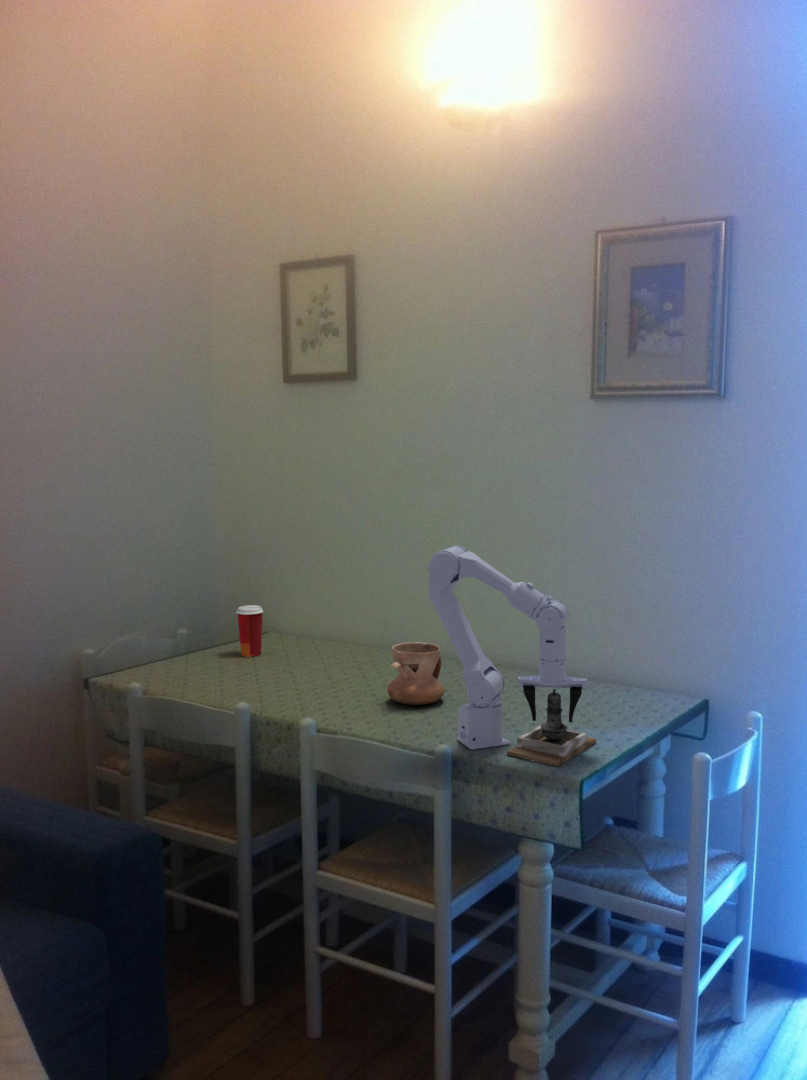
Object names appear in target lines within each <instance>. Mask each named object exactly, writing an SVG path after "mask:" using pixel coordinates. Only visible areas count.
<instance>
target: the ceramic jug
mask: <svg viewBox="0 0 807 1080" xmlns="http://www.w3.org/2000/svg"><path fill="white" fill-rule="evenodd" d="M441 648H442V647H440V646H439V645H438V644H435V643H431V642H423V641H417V642H416V641H409V642H402V643H397V644H394V645H393V646H392V647H391V653H392V658H393V661H394V662H393V663H392V664H390V668H391V669H392V670H397V671H398V673H399V675H398V676H397V677H395V678H394V679H393V680H391V681H389V683H388V686H387V690H386V691H387V693H388V696H389V698H391V700H393V701H395V702H397V703H399V704H403V705H408V706H423V705H425V706H426V705H429V704H433V703H435V702H437V701H439V700H440V699H441V698H442V697H443V696H444V693H445V687H444V685H443V683H442V682H441V681H439V680H438V679H439V677H440V674H441V670H442V661H443V660H442V657H441V651H442V650H441Z"/></svg>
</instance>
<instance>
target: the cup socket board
mask: <svg viewBox="0 0 807 1080" xmlns="http://www.w3.org/2000/svg"><path fill="white" fill-rule="evenodd" d="M541 725H542V724H540V725H538V726H536V727H535V728H533V729H531V730H529V731H528V732H526V733H524V734H522V735H520V736H518V737H517V738H516V741H517V742H516V744H517V745H516V746H513V747H512V748H510V749H507V751H506V756H507V755H510V756H509V757H511V756H516V757H520V758H525V759H528V760H527V761H529V760H534V761H538V762H542V763H541V764H543V763H546V764H545V765H548V764H551V765H550V766H552V765H555V766H554V767H557V766H558V767H560V766H561V764H562V765H563V764H564V762H565V761H566V762H568V761H569V759H570V760H572V759H573V758H574V757H576V756H577V755H579V754H581V753H582V752H584V751H585V750H587V749H588V748H590V747H591V745H592V746H593V745H595V744H597V738H596V737H591V736H588V733H586V732H581V731H576V730H572V729H567V730H566V734H565V736H564V737H563V738H561V739H563V740H565V741H566V743H564V744H563V745H558V744H553V743H548V742H543V740H544V739H546V737H545V736H544V735H543V732H542V729H541ZM572 757H573V758H572ZM520 758H519V759H520ZM525 759H524V760H525ZM567 760H568V761H567ZM534 761H533V762H534ZM538 762H537V763H538ZM566 762H565V763H566ZM559 765H560V766H559Z"/></svg>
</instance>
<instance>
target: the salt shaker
mask: <svg viewBox="0 0 807 1080" xmlns="http://www.w3.org/2000/svg"><path fill="white" fill-rule="evenodd" d="M556 691H557V690H556V688H554V689H552V692H551V693H548V695H547V708H545V711H546V721H545V723H542V724H540V725H541V729H542V732H543V735H544V736H545V737H546V739H544V740H543V742H548V743H553V744H558V745H563V744H564V743H566V741H565V740H563V739H561V738H563V737H564V736H565V734H566V730H569V727H568V725H566V724H564V723H563V720H562V713H563V708H562V696H561V694H560V693H558V692H556Z"/></svg>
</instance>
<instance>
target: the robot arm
mask: <svg viewBox="0 0 807 1080" xmlns="http://www.w3.org/2000/svg"><path fill="white" fill-rule="evenodd" d="M427 571H428V596H429V598H430V601H431V602H432V605H433V606H434V607H433V608H434V609H435V611H436V613H437V615H438V617H439V619H440V621H441V624H442V625H443V627H444V630H445V631H446V633H447V635H448V637H449V640H450V642H451V644H452V646H453V648H454V650H455V652H456V654H457V655H456V656H458V658H459V661H460V663H461V665H462V667H463V668H462V669H463V672H462V674H463V675H462V679H463V680H464V683H465V688H466V689H465V692H466V697H467V698H468V700H469V702H468V703H466V704H464V705H460V706H459V707H458V710H457V736H456V740H457V741H459V742H460V743H461V744H463V745H464V746H466V748H468V749H469V750H478V749H484V748H492V747H499V746H505V745H506V746H507V745H510V744H511V743H510V741H509V740H508V739H506V738H504V737H503V698H502V697H501V693H502V692H503V691H504V688H505V686H506V682H505V677H504V675H503V674H502V672H500V671H499V670H498V669H497V667H495V666H494V664H493V661H492V660H490V659H489V658H488V657H487V656H486V655H485V654H484V652H483V649H482V648H481V645H480V644H479V641H478V640H477V637H476V635H475V633H474V630H473V628H472V627H471V625H470V623H469V621H468V619H467V617H466V614H465V613H464V610H463V608H462V606H461V604H460V602H459V600H458V599H457V596H456V594H455V590H456V587H457V585H458V583H459V580H460V578H475V579H477V580H479V581H480V582H483V583H484V584H486V585H488V586H489V587H491V588H492V589H494V590H496V591H497V592H500V593H501V594H503V595H504V596H506V599H507V602H508V605H510V606H512V607H513V608H514V609H516V610H517V611H519V612H521V613H523V614H524V615H525V616H526V617H529V618H530V619H532V620H533V621H535V623H536V625H537V627H538V628H539V637H538V675H530V676H527V675H525V676H522V675H521V676H518V677H517V678H518V679H517V682H518V683H517V685H518V686H517V687H518V688H522V689H523V690H522V691H523V694H524V697H525V700H526V702H527V703H528V706H529V709H530V713H531V718H532V722H536V721H537V708H536V688H554V689H557V688H558V689H569V708H568V709H569V710H568V723H573V718H574V714H575V713H574V712H575V710H576V707H577V705H578V703H579V700H580V698H581V696H582V694H583V690H587V689H588V679H587V678H586V677H585V678H584V677H576V676H575V677H574V676H567V636H566V635H567V631H566V630H567V625H565V624H567V621H568V619H569V615H570V613H569V609H568V607H567V606H566V605H565V604H564V603H563V602H562V600H559V599H558V600H557V599H553V597H552V596H550V595H545V594H543V593H542V592H540V591H539V590H537V589H536V588H534V585H535V584H533V583H531V582H530V581H528V582H527V583H526V582H524V581H520V582H519V581H518V582H514V581H513V580H511V579H510V578H508V576H506V575H504V574H503V573H502V572H500V571H499V570H497V569H496V568H495V567H493V566H492V565H491V564H490V563H488V562H487V561H485V560H483V559H482V558H480V557H479V556H478V555H477V554H476V553H474V552H472V551H469V550H467V549H466V548H465V547H464V546H461V545H451V546H450V547H448V548H446V549H441V550H439V551H437V552H434V554H433V556H432V557H431V559H430V561H429V563H428V566H427Z"/></svg>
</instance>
